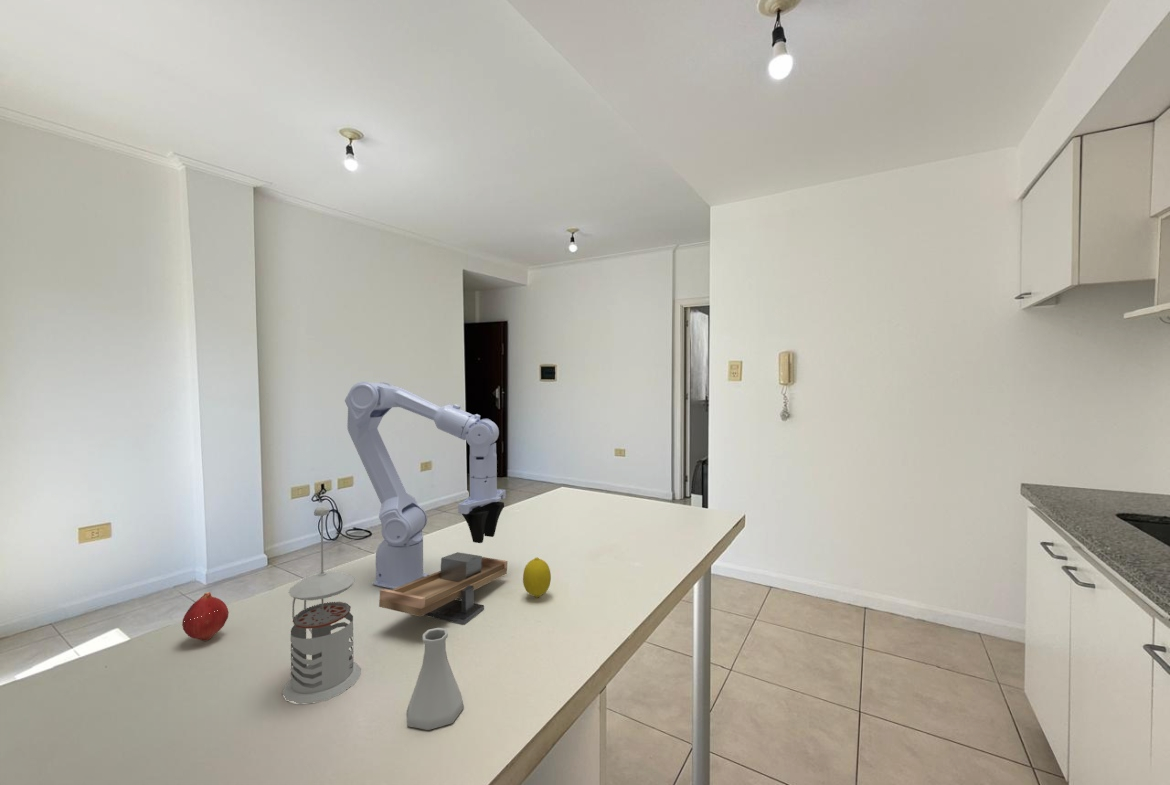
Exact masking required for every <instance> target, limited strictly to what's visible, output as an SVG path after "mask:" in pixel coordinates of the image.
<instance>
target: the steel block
mask: <svg viewBox="0 0 1170 785" xmlns="http://www.w3.org/2000/svg"><path fill="white" fill-rule="evenodd" d="M482 557H483V556H482V555H478V554H472V553H471V554H470V553H465V552H459V551H457V552H455V553H451V554H448V555H445V556H443V557H441V559H440V560H441V561H440V571H441V572H440V579H444V580H449V581H454V582H461V581H463V580H465V579H467V578H470V577H472V576H474V575H476V574H479V573H481V561H482Z"/></svg>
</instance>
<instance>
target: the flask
mask: <svg viewBox="0 0 1170 785" xmlns="http://www.w3.org/2000/svg"><path fill="white" fill-rule="evenodd" d="M448 636H449V634H448V629H447V628H442V627H436V628H430V629H427V630H426V631H425V632H424V633H423V634H422V635H421V637H422V643H423V645H424V653H423V658H422V663H421V668H420V671H419V673H418V677H417V680H416V682H415V683H416V684H415V686H414V689H413V690H412V691H413V692H412V694H411V697H410V700H409V703H408V706H407V708H406V723H407V724H406V725H407V727H410V728H411V727H412V728H416V729H421V730H427V731H430V730H433V729H436V728H440V727H444V726H447V725H451V724H453V723H454V722H455V721H456V719H457V718H458V716H459V715H460V714H461V712H462V711H463V710H464V708H465V705H464V701H463V696H462V693H461V690H460V688H459V685H458V683H457V681H456V678H455V675H454V673H453V670H452V667H451V664H450V662H449V660H448V655H447V648H446V645H447V644H446V641H447V639H448Z"/></svg>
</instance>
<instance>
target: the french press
mask: <svg viewBox="0 0 1170 785" xmlns="http://www.w3.org/2000/svg"><path fill="white" fill-rule="evenodd" d="M329 514H330V509H329V507H328V506H326V505H320V506H317V507H316V508H315V509H314V510H313V515H314V516H316V517H320V552H321V553H320V559H321V560H320V561H321V562H320V568H321V570H320V571H319V572H316V573H314V574H311V575H308V576H307V575H306V577H304V578H302V579H300V581H298V582H296V583H295V584H294V585H293V586H291V587H290V588H289V590H288V594H289V595H290V596H291V597H292V598H293V599H292V614H291V615H292V616H291V617H292V624H293V626H292V627H291V629H290V652H291V653H290V679H289V681H288V682H287V683H286V684H285V685H284V687H283V689H284V690H282V692H283V695H284V696H285V698H286V700H289V701H294V702H296V703H301V704H300V705H303V704H302V703H313V702H317V703H320V701H321V702H324V701H328V700H330V699H333V698H334V697H336V696H338V695H341V694H343V693H344V692H347V690H348V689H350V688H351V687H352V685H353V684H354V685H355V684H356V683H357V682H358V680H359V679H360V678H361V676H362V674H361V672H362V668H361V666H360V665H359V664H358V663H356V662H355V661H354V639H353V637H354V615H353V614H352V613H351V608H352V607H351V606H350V605H349V603H346V602H344V601H327V602H324V600H325V599H327V598H331V597H334V596H338V595H340V594H342V593H343V592H346V591H347V590H349V589H350V588H351V587H352V586H353V585H354V583H355V578H354V576H352V575H351V574H349V573H346V572H344V571H343V572H342V571H338V570H330V571H327V570H326V571H324V517H323V516H327V515H329ZM296 600H300V601H303V609H301V611H299V612H298V613H297V614H295V602H296ZM316 600H321V603H319V604H318V603H317V604H316V605H315V604H314V605H311V606H309V607H307V601H316ZM343 619H346V620H348V621H349V623H348V622H346V621H342V622H339V621H341V620H343ZM337 628H341V629H340V630H337V631H335V632H333V633H332V631H334V630H335V629H337ZM307 629H308V630H309V632H310V634H311V638H310V637H309V638H307ZM308 655H309V656H311V659H308V658H307V656H308ZM360 675H361V676H360ZM355 682H356V683H355ZM354 685H353V686H354ZM350 686H351V687H350ZM349 687H350V688H349ZM346 689H347V690H346ZM323 700H324V701H323ZM313 704H314V703H313Z"/></svg>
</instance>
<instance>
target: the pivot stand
mask: <svg viewBox="0 0 1170 785" xmlns="http://www.w3.org/2000/svg"><path fill="white" fill-rule="evenodd" d="M423 577H424V576H423ZM423 577H421V578H423ZM419 579H420V578H419ZM417 580H418V579H417ZM474 591H475V590H474V586H471V585H469V586H467V587H466V588H464V589H463V590H461V600H460V599H458V598H457V599H455V600H453V601H451V602H449V603H447V604H445V605H443V606H441V607H439V608H437V609H435V610H433V611H431V612H429V613H427V614H425V615H423V616H425V617H430V618H432V619H433V618H434V619H437V620H442V621H447V622H450V623H454V624H460V625H462V626H463V625H464V626H465V625H466V624H467V623H469V622H470V621H471V620H473V618H475V617H476V616H477V615H479V614H480V613H481V612H483V611H485V605H484V604H480V603H475V595H474V594H475V592H474Z"/></svg>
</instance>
